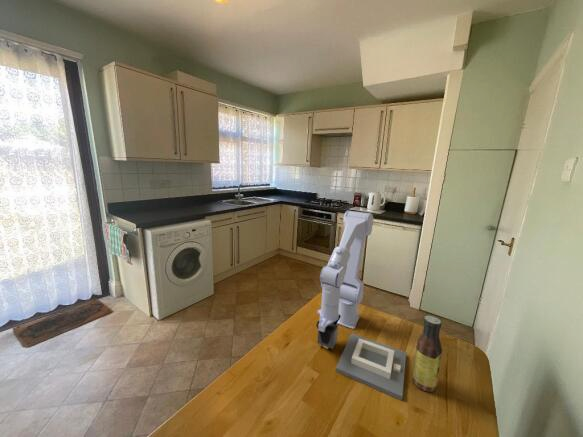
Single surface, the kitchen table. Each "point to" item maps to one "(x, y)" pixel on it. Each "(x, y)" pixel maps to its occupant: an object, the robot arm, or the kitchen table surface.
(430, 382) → the sauce bottle
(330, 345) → the plug
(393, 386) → the socket
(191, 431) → the kitchen table surface
